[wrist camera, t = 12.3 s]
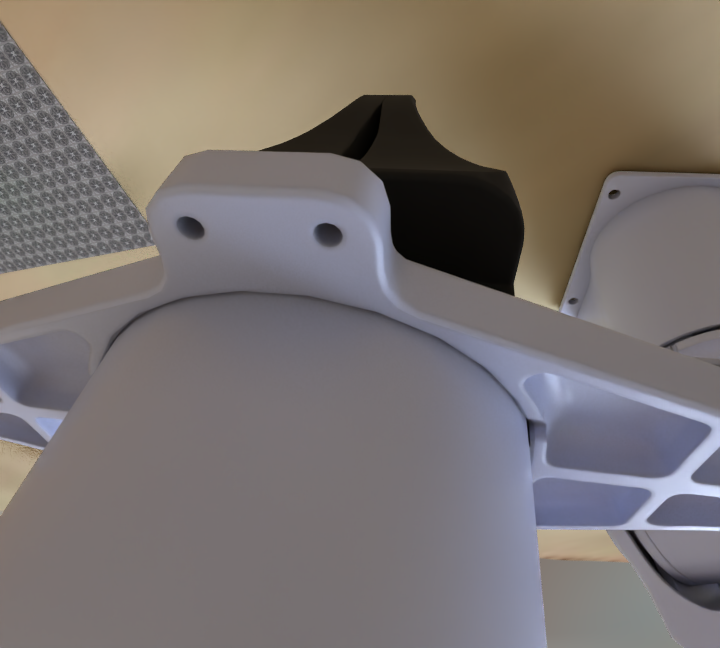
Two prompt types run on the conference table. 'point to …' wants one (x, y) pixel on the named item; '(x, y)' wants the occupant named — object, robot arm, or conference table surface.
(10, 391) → the robot arm
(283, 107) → the conference table surface
